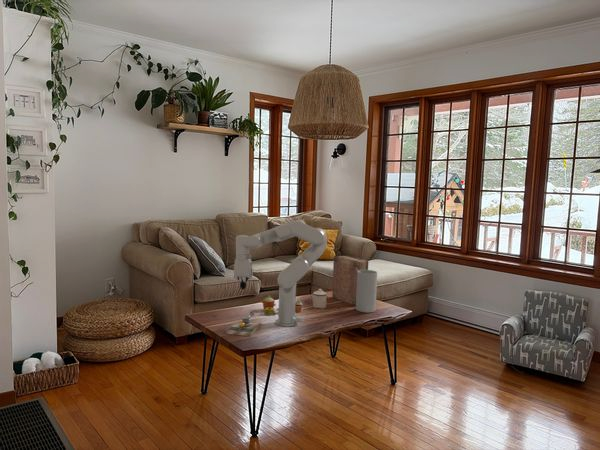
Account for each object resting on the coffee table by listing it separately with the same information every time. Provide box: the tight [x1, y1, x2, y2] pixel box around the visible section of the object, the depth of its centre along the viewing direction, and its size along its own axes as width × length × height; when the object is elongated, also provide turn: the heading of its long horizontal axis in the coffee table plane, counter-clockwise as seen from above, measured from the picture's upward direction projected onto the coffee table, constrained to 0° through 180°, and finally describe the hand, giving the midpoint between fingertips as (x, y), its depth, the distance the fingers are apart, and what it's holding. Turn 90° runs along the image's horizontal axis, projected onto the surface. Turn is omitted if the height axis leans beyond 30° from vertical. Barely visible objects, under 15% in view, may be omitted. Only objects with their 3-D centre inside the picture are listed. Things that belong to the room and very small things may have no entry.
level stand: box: [225, 320, 263, 337], centre depth 250 cm, size 14×18×2 cm
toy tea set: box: [260, 295, 304, 316], centre depth 287 cm, size 26×16×10 cm, turn 111°
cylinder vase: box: [355, 269, 378, 314], centre depth 295 cm, size 12×12×25 cm
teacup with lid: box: [310, 288, 328, 309], centre depth 301 cm, size 12×9×12 cm
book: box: [332, 254, 369, 307], centre depth 316 cm, size 25×9×30 cm, turn 35°
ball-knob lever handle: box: [239, 311, 254, 328], centre depth 255 cm, size 23×6×4 cm, turn 172°
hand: (243, 288), depth 264 cm, fingers closed
